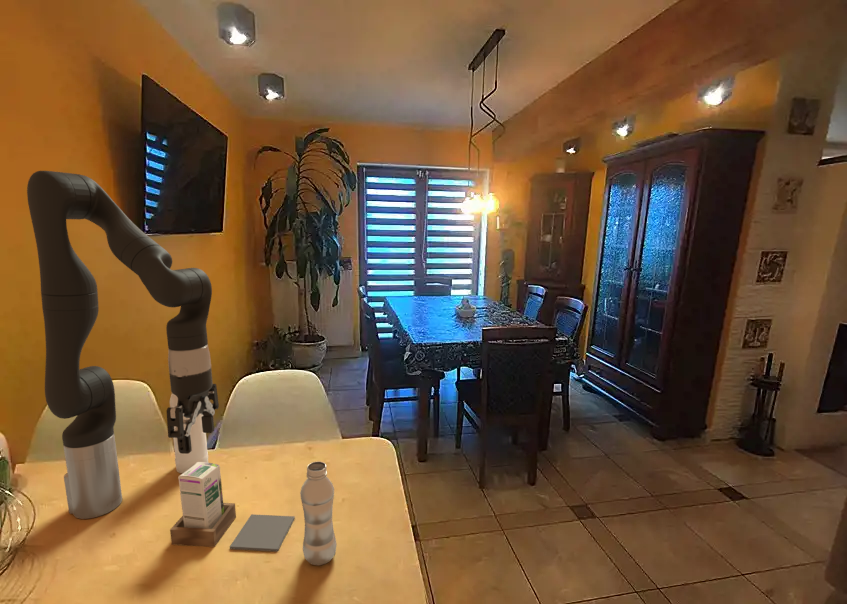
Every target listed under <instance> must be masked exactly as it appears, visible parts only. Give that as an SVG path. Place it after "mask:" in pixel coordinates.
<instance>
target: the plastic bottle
mask: <svg viewBox="0 0 847 604" xmlns="http://www.w3.org/2000/svg"><path fill="white" fill-rule="evenodd" d="M327 475H328V471H327V464H326V463H325V462H324V461H319V460H317V461H312V462H310V463H309V464H307V466H306V480H305V481H304V482H303V484H302V486H301V489H300V492H299V493H300V501H301V505H302V512H303V518H304V519H303V520H304V534H303V536H304V537H303V542H302V552H303V556H304V559H305V560H306V562H308V563H309V564H310V565H314V566H323V565H326V564H327V563H329V562H330V561H331V560H332V559H333V558H334V557H335V555H336V551H337V539H336V535H335V529H334V523H333V509H334V507H333V505H334V499H335V497H334V496H335V486H334V484H333V483H332V481H331V480H330V478H329V477H328V476H327Z"/></svg>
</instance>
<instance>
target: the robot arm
mask: <svg viewBox="0 0 847 604" xmlns="http://www.w3.org/2000/svg"><path fill="white" fill-rule="evenodd" d="M26 187H27V188H26V196H27V203H28V211H29V214H30V219H31V223H32V229H33V233H34V238H35V239H34V240H35V244H36V250H37V257H38V266H39V276H40V277H39V278H40V296H41V305H42V306H41V308H42V315H43V321H44V323H43V324H44V335H45V367H44V368H45V369H44V370H45V371H44V372H45V374H44V396H45V401H46V404H47V407H48V409H49V410H50V412H51V413H52V414H53V415H54V416H55V417H57V418H59V419H62V420H63V419H70V418H71V419H72V418H74V417H75V418H74V419H73V421H71V422H70V424H68V425H67V426H66V427H65V429H63V431H62V434H61V438H62V444H63V453H64V457H65V458H64V460H65V465H66V472H67V473H65V474H64V475H63V481H64V489H65V495H66V502H67V507H68V514H69V515H70V514H72V515H73V516H74V517H75V518H76V519H82V520H85V519H86V520H89V519H93V518H98V517H100V516H103V515H105V514H108V513H110V512H112V511H114V510H115V509H117V508H118V507H119V506H120V505H121V503H122V502H123V495H122V494H123V493H122V484H121V477H120V469H119V462H118V460H119V459H118V453H117V444H116V437H115V430H114V429H115V428H114V427H115V424H116V421H117V409H116V393H115V391H116V390H115V384H114V381H113V378H112V377H111V375H110V373H109V372H108V371H107V370H106V369H105V368H104V367H101V366H99V365H91V366H87V367H83V368H80V361H81V360H80V359H81V353H82V351H83V347H84V346H85V343H86V341H87V340H88V337H89V335H90V334H91V332H92V329H93V327H94V326H95V324H96V322H97V318H98V315H99V293H98V284H97V281H96V278H95V277H94V275H93V274H92V272H91V270H90V269H89V268H88V266H87V265H85V263H84V262H83V261H82V260H81V258H80V257H79V256H78V254H77V253H76V251H75V250H74V248H73V246H72V243H71V241H70V237H69V232H68V228H67V226H68V225H67V220H87V221H89V222H91V223H93V224H95V225H96V226H98V227H99V228H101V229H102V230H103V231H104V233H105V235H106V240H107V245H108V247H109V249H110V251H111V253H112V254H113V256H114V257H115V258H116V259H118V260H119V261H120V262H121V263H122V264H123V265H124V266H126V267H127V269H129V270H131V271H132V272H133V273H134V274H136V275H137V276H138V278H139V279H140V281H141V282H142V284H143V285H144V287H145V289H146V290H147V292H148V293H149V294H150V296H151V298H152V299H153V300H154V301H156V302H157V303H158V304H160V305H163V306H164V307H166V308H167V307H168V308H178V307H180V309H179V311H178V314H177V315H175V316H174V317H172V318H171V319H170V320H168V321H167V323H166V339H167V348H168V349H167V350H168V354H167V356H168V357H167V361H168V362H167V364H168V373H169V374H168V375H169V383H170V384H169V385H170V391H171V394H172V393H173V394H174V395H176V396H177V397H178V402H177V406H175V407H170V406H169V407H167V409H166V425H167V436H168V438H170V439H173V438H177V441H178V450H179V452H180V453H182V454H189V453H190V452H191V451H192V448H191V437H190V435H189V434H190V430H191V427H192V425H194V424H195V421H196V417H197V416H198V415H199V414H201V415H204V416H202V417H201V419H202V429H203V432H204V433H206V434H212V433H213V432H214V431H215V425H214V422H215V421H214V415H215V412H216V410H218V409H219V408H220V407H219V406H220V404H219V403H220V402H219V396H218V388H217V384H216V383H214V382H213V373H212V360H211V352H210V349H209V343H208V332H207V331H208V329H207V322H208V317H209V314H210V313H209V312H210V306H211V302H212V294H213V288H212V287H213V286H212V283H211V280H210V278H209V275H208V274H207V273H206V272H205V271H204V270H203V269H200V268H197V267H189V268H187V267H186V268H179V269H171V268H172V266H173V257H172V256H171V254H170V252H168V250H167V249H165V248H164V247H163V246H161V245H160V244H159V243H157V241H155V240H154V239H152V237H150V236H149V235H147V233H145V232H144V231H142V229H140V228H139V227H138V226H137V225H136V224H135V223H134V222H133V221H132V220H131V219H130V218H129V217H128V216H127V215H126V214H125V213H124V211H123V210H122V209H121V208H120V206H119V205H117V203H116V202H115V201H114V200H113V199H112V198H111V196H110V195H109V194H108V193H107V192H106V191H105V190H104V188H103V187H102V186H100V184H99V183H97V182H96V181H95V180H93V179H92V177H91V178H90V177H89V176H87V175H83V174H77V173H70V172H63V171H62V172H61V171H54V170H53V171H52V170H38V171H35V172H33V173H32V174H31V175H30V177H29V179H28V182H27V186H26ZM211 400H212V402H211ZM183 416H184V417H186V418H190V419H188V420H183ZM184 424H186V428H185V430H184ZM174 426H176V429H175V431H174Z"/></svg>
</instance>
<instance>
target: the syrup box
mask: <svg viewBox="0 0 847 604" xmlns="http://www.w3.org/2000/svg"><path fill="white" fill-rule="evenodd" d="M221 475H222V474H221V467H220V464H217V463H213V462H208V463H206V462H197V463H196V464H195V465H194V466H192V467H191V468H189V469H188V470H187V471H185V472H184V473H183V474H182V473H180V475H178V486H179V493H180V494H179V495H180V502H181V510H182V511H181V512H182V516H183V521H184V528H204V529H212V528H213V527H214V525H215V524H216V523H217V521H218V520H219V519H220V518H221V516H222V515H223V514H224V505H223V503H224V498H223V487H222V485H223V484H222V476H221Z"/></svg>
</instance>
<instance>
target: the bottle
mask: <svg viewBox="0 0 847 604" xmlns="http://www.w3.org/2000/svg"><path fill="white" fill-rule="evenodd" d="M177 402H178V397H177V396H176V395H174V394H173V393H172V392H171V395H170V399H169V407H175V406H177ZM202 416H204V415H201V414H199V415H198V416H197V417H196V421H195V424H194V425H192V427H191V430H190V434H189V435H190V437H191V448H192V451H191V452H190V453H189V454H182V453H180V452H179V450H178V441H177V438H172V440H173V448H174V449H173V450H174V462H175V463H174V464H175V468H176V472H178V473H179V474H183V473H184V472H185V471H187V470H188V469H189V468H191V467H192V466H194V465H195V464H196V463H197V462H206V463H209V453H208V444H207V433H204V432H203V429H202V419H201V417H202ZM188 419H190V418H186V417H184V416H183V420H188ZM185 428H186V424H184V430H185ZM175 429H176V426H174V431H175Z"/></svg>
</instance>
